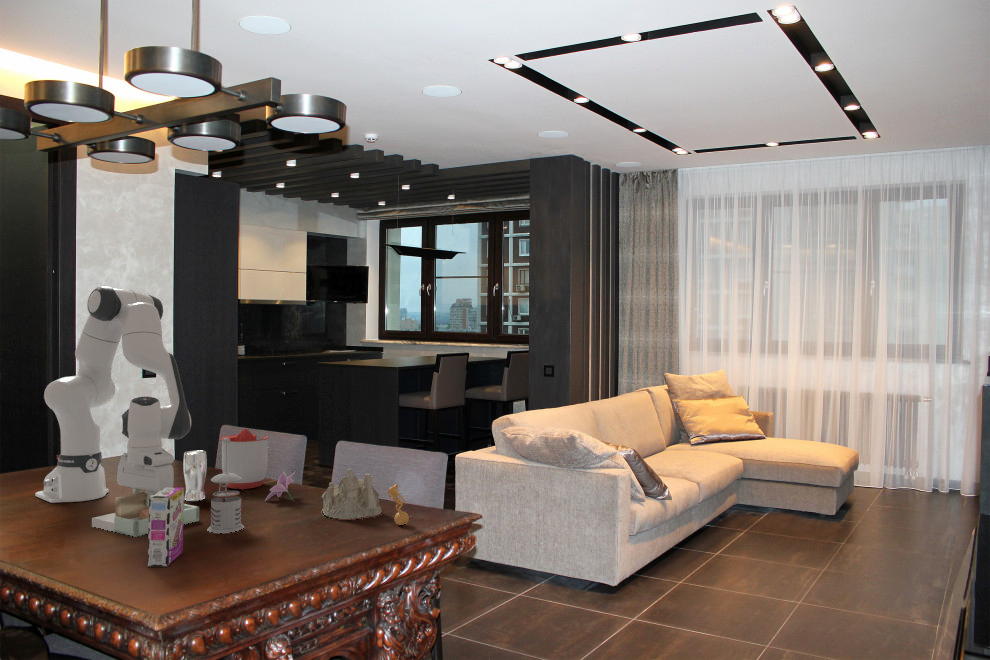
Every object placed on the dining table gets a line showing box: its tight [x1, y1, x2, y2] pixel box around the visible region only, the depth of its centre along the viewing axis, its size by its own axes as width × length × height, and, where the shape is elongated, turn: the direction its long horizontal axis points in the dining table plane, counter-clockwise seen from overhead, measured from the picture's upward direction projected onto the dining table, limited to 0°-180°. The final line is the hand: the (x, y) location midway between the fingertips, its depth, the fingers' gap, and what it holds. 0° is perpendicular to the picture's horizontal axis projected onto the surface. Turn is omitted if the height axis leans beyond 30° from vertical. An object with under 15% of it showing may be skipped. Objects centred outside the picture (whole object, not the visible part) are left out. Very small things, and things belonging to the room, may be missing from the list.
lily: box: [264, 471, 297, 502], centre depth 246 cm, size 12×12×10 cm
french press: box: [206, 438, 245, 534], centre depth 213 cm, size 10×12×25 cm
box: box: [113, 503, 200, 538], centre depth 213 cm, size 9×20×4 cm, turn 150°
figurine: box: [387, 483, 410, 526], centre depth 217 cm, size 8×6×12 cm
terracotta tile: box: [139, 508, 149, 519], centre depth 214 cm, size 5×5×2 cm
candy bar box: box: [147, 486, 185, 568], centre depth 184 cm, size 11×5×16 cm, turn 5°
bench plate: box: [91, 512, 142, 533], centre depth 218 cm, size 10×20×2 cm, turn 150°
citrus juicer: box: [220, 428, 270, 491], centre depth 266 cm, size 16×17×20 cm
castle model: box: [321, 468, 383, 519], centre depth 230 cm, size 16×16×15 cm
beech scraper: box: [114, 490, 157, 519], centre depth 216 cm, size 2×16×6 cm, turn 150°
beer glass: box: [182, 450, 208, 502], centre depth 246 cm, size 7×7×15 cm
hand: (144, 504), depth 216 cm, fingers open, 3 cm apart
